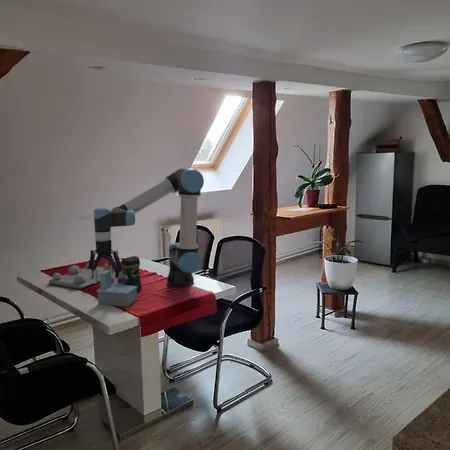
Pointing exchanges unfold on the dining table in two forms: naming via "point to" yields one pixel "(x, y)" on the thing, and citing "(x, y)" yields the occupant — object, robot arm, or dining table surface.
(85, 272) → the decorative tray
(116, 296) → the tub
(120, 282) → the supplement can
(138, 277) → the coffee jar
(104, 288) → the pale blue stepped block
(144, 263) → the dining table surface
